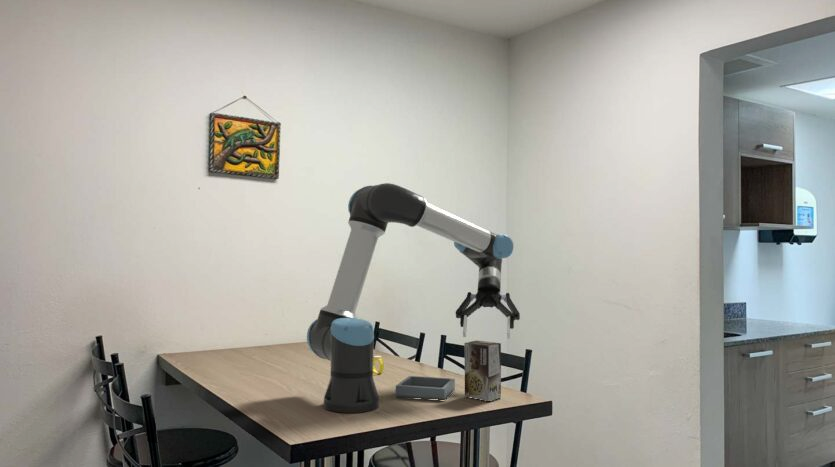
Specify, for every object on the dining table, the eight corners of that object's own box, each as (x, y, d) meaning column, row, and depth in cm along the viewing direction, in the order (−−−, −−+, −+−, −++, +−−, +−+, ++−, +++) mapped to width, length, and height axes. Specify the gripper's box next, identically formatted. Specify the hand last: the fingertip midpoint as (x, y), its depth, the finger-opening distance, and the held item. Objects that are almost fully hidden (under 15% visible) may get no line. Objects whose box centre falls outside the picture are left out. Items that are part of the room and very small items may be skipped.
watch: (385, 374, 212) (385, 357, 212) (378, 375, 210) (379, 358, 210) (375, 370, 217) (376, 354, 217) (368, 371, 215) (369, 354, 215)
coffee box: (501, 398, 178) (502, 343, 178) (488, 402, 173) (488, 345, 174) (476, 393, 184) (477, 339, 185) (463, 397, 179) (463, 341, 180)
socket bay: (444, 401, 174) (444, 389, 174) (395, 397, 178) (395, 385, 178) (454, 390, 188) (454, 378, 188) (409, 387, 192) (409, 375, 192)
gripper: (527, 292, 205) (527, 343, 190) (453, 290, 209) (447, 341, 194) (527, 276, 200) (527, 328, 185) (451, 275, 204) (445, 326, 189)
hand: (486, 335), depth 189 cm, fingers open, 13 cm apart
